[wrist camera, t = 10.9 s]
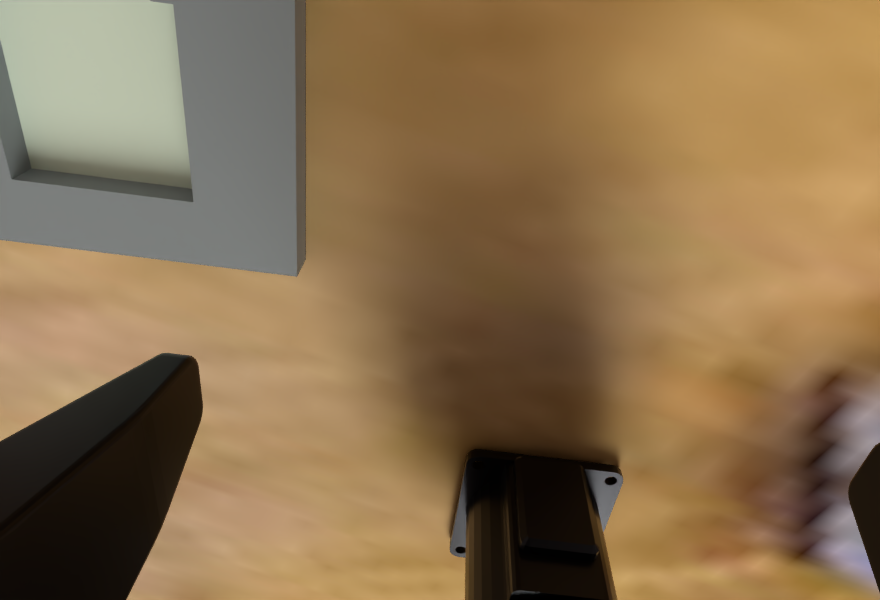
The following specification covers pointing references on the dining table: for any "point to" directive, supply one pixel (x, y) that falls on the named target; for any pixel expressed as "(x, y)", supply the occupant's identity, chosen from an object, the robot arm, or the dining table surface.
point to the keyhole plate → (156, 129)
